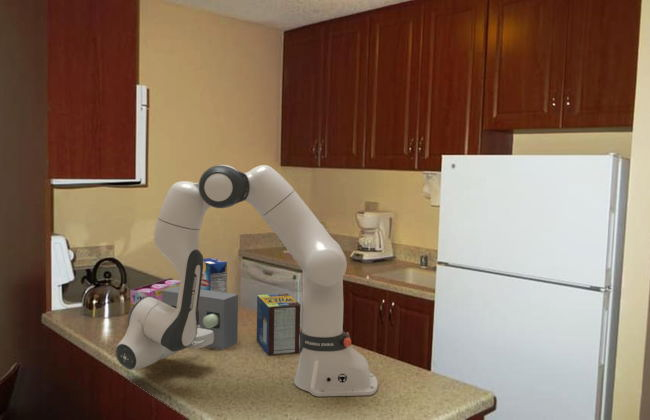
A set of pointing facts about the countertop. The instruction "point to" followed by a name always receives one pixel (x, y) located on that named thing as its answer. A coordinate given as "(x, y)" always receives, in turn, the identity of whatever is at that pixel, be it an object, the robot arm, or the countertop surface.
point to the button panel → (213, 304)
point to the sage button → (211, 320)
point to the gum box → (152, 290)
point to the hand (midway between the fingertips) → (196, 327)
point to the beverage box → (214, 275)
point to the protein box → (278, 324)
